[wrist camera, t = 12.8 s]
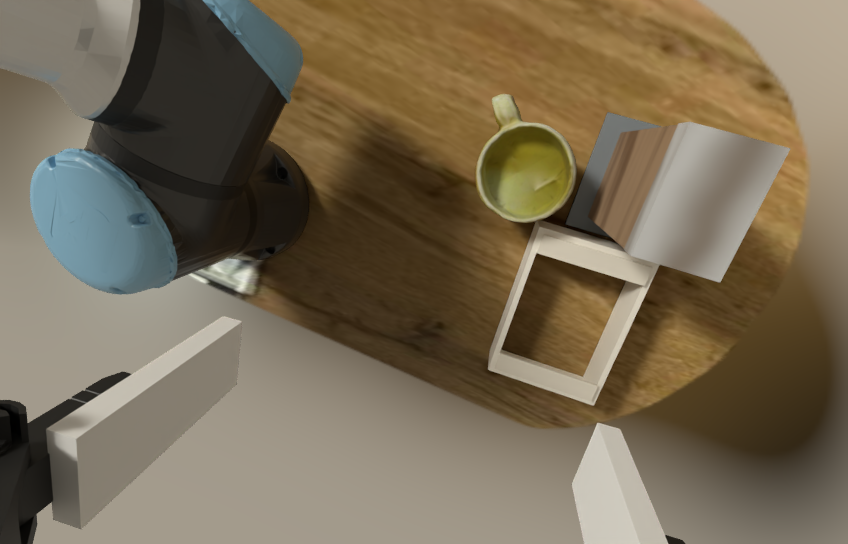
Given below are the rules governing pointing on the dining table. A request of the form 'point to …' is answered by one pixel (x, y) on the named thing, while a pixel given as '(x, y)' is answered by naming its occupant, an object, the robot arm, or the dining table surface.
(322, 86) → the dining table surface
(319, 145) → the dining table surface
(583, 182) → the mat
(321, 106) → the dining table surface
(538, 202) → the mug
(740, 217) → the walnut box
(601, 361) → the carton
